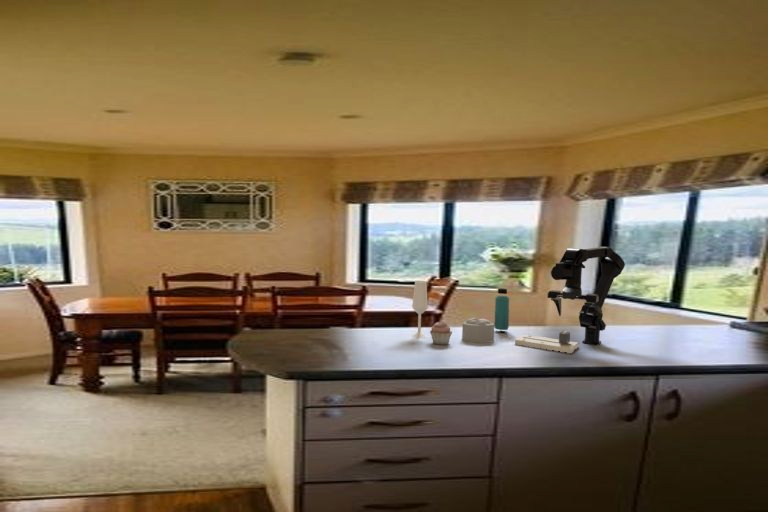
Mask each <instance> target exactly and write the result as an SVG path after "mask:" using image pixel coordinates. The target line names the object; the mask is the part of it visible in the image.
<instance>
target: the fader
mask: <svg viewBox="0 0 768 512" xmlns="http://www.w3.org/2000/svg"><path fill="white" fill-rule="evenodd" d="M558 340H559V343H561V344H568V343H569V342H570V341H571V332H570V331H567V330H565V331H563V330H562V331H561V332H558Z"/></svg>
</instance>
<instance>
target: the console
mask: <svg viewBox="0 0 768 512" xmlns="http://www.w3.org/2000/svg"><path fill="white" fill-rule="evenodd" d="M514 345H515V346H522V345H523V347H528V346H529V348H534V347H535V349H540V348H541V350H546V349H547V351H552V350H554V351H553V352H558V351H560V352H559V353H564V352H567V353H566V354H570V353H571V354H572V353H574V352H575V351H576V350H577V349H578V348H579V342H577V341H571V340H570V342H569V343H568V344H561V343H559V338H558V339H557V338H551V337H544V336H538V335H532V334H523V335H521V336H519V337H518V338H515V340H514ZM575 349H576V350H575ZM574 350H575V351H574Z"/></svg>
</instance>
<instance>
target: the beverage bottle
mask: <svg viewBox="0 0 768 512" xmlns="http://www.w3.org/2000/svg"><path fill="white" fill-rule="evenodd" d="M497 293H498V294H500V295H496V296H495V300H494V301H495V303H494V319H493V320H494V323H493V324H494V330H495V329H496V330H498V331H499V330H500V331H507V330H508V329H509V325H510V324H509V323H510V322H509V321H510V319H509V318H510V297H508V296H507V295H506V294H508V288H507V289H506V288H503V287H502V288H501V287H500V288H498V289H497ZM501 294H502V295H501Z"/></svg>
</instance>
